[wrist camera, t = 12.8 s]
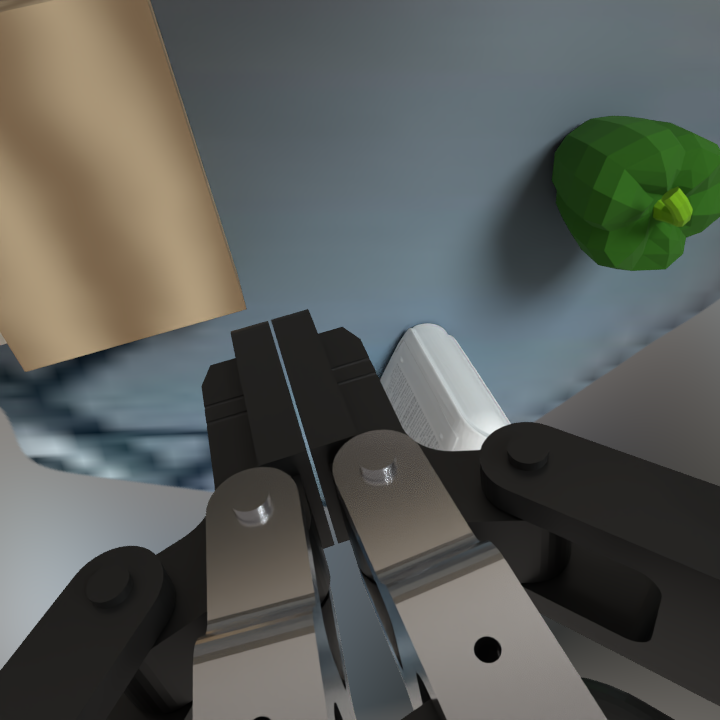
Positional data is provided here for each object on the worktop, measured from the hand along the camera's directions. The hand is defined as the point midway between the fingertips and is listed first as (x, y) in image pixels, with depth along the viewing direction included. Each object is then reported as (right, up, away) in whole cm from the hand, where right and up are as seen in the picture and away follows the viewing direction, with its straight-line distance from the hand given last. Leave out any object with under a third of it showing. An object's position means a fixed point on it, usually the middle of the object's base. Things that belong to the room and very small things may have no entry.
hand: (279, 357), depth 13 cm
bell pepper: (+16, +13, +29) cm, 35 cm away
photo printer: (+5, -1, +35) cm, 36 cm away
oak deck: (-13, +9, +21) cm, 26 cm away
